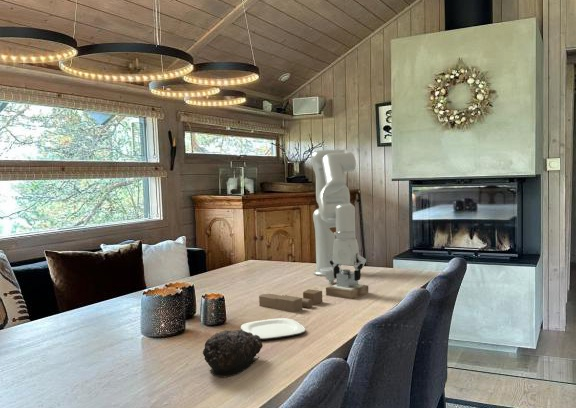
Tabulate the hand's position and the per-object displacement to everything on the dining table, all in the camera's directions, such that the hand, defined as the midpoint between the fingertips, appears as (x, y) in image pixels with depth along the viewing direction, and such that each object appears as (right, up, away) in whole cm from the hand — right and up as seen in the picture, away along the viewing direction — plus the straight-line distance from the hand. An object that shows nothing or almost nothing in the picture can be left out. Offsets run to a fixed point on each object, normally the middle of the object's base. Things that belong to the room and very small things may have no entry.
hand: (347, 278), depth 203 cm
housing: (0, -3, +1) cm, 3 cm away
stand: (0, -6, 0) cm, 6 cm away
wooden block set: (-22, -8, -13) cm, 27 cm away
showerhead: (-4, -5, +21) cm, 22 cm away
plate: (-28, -10, -45) cm, 54 cm away
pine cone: (-37, -12, -73) cm, 83 cm away
